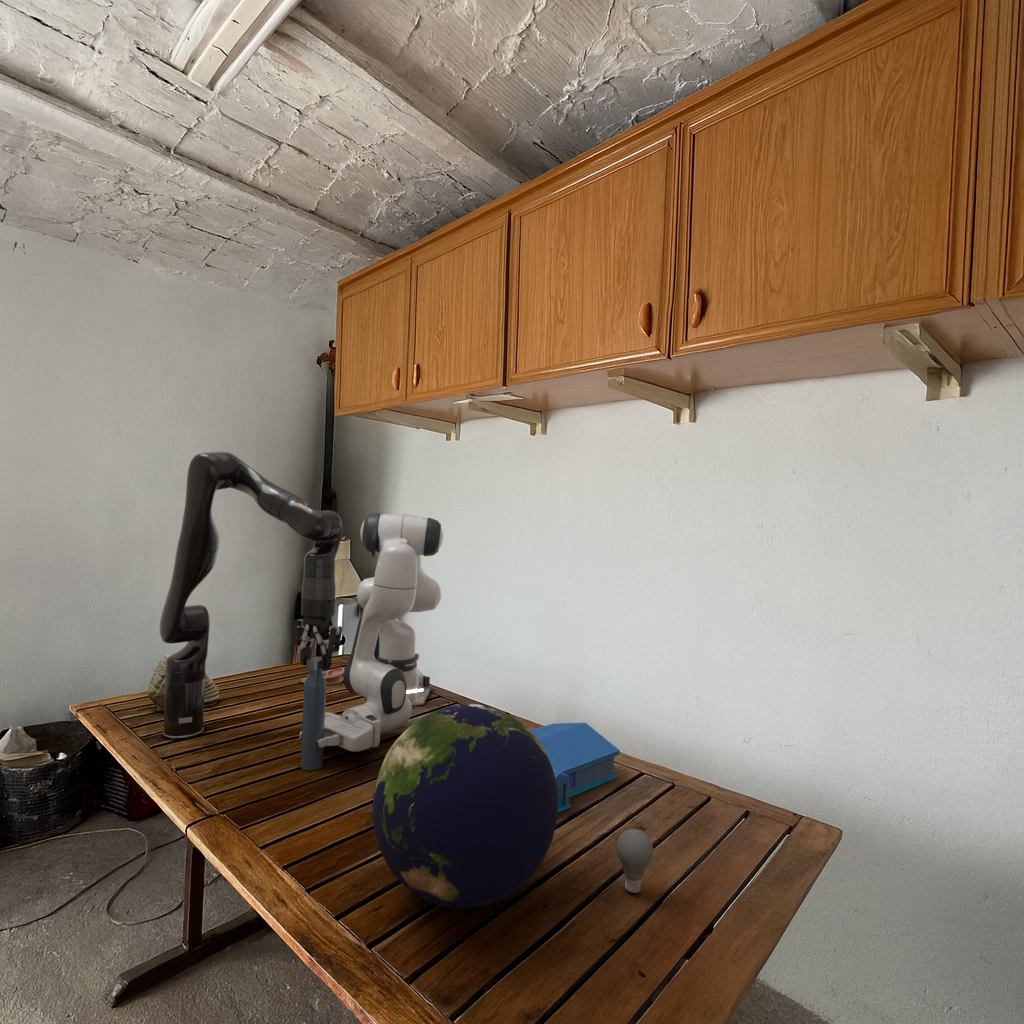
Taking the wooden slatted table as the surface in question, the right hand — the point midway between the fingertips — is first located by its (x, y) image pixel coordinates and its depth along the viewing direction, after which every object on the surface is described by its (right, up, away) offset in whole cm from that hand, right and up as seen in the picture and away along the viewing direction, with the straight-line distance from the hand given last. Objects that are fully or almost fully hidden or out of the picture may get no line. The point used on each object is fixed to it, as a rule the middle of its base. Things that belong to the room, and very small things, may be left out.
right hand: (309, 739), depth 148 cm
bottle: (0, -6, +1) cm, 6 cm away
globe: (+39, -9, -44) cm, 60 cm away
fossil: (-49, -4, +37) cm, 61 cm away
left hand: (+1, +17, 0) cm, 17 cm away
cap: (+1, +18, +1) cm, 19 cm away
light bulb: (+67, -10, -42) cm, 80 cm away
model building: (+52, -9, -5) cm, 52 cm away
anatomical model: (-17, -4, +68) cm, 70 cm away
